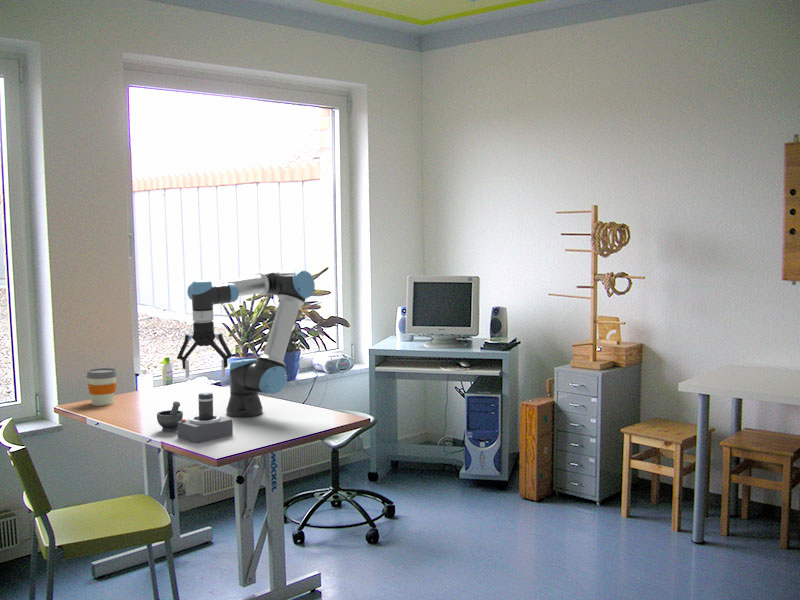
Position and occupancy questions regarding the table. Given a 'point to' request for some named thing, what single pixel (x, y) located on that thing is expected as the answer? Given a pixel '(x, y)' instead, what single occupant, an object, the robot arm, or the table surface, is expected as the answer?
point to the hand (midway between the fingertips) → (205, 376)
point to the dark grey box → (204, 429)
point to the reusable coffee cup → (102, 385)
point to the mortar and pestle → (170, 418)
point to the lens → (205, 406)
